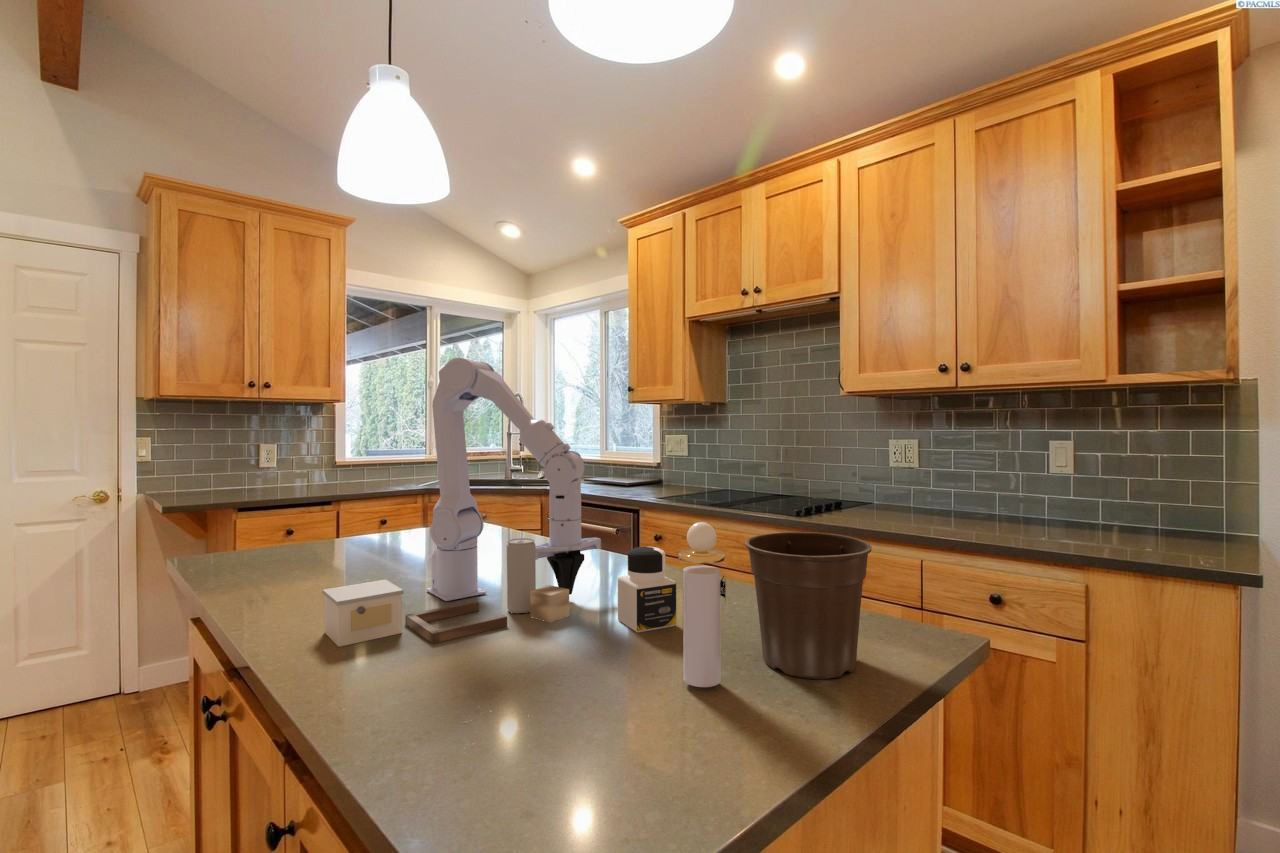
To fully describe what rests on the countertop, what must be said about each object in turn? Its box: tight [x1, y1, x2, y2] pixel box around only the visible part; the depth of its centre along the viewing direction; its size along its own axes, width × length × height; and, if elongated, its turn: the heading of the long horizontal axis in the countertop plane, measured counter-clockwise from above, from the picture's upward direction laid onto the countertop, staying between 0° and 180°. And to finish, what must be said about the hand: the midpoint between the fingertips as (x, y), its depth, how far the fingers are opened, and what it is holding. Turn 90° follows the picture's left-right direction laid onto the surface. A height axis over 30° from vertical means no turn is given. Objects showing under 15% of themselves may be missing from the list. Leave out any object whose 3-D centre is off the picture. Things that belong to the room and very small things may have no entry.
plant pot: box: [744, 531, 873, 680], centre depth 82 cm, size 16×16×16 cm
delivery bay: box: [404, 600, 508, 645], centre depth 97 cm, size 11×12×2 cm
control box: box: [322, 578, 404, 648], centre depth 94 cm, size 9×9×7 cm
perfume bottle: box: [677, 521, 727, 688], centre depth 75 cm, size 6×6×20 cm
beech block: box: [530, 585, 570, 623], centre depth 102 cm, size 4×4×4 cm
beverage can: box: [506, 537, 537, 614], centre depth 105 cm, size 5×5×12 cm
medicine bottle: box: [617, 546, 677, 634], centre depth 98 cm, size 7×7×12 cm
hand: (565, 593), depth 111 cm, fingers closed
